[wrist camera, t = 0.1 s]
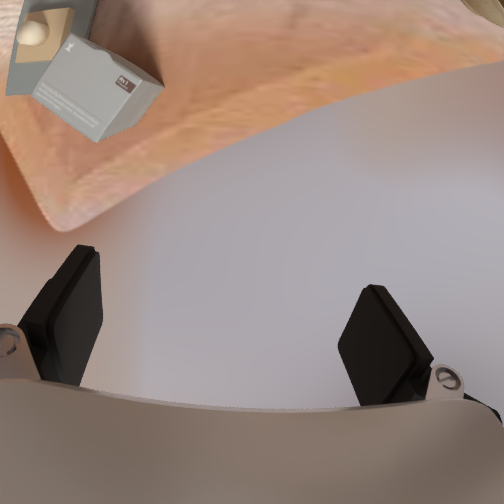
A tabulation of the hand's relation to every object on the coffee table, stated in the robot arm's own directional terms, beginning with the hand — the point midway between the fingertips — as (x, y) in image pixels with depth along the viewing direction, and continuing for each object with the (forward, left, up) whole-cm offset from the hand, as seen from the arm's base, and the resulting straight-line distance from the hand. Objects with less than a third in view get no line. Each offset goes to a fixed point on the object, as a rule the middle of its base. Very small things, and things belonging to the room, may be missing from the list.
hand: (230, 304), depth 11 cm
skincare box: (-6, -13, -31) cm, 34 cm away
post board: (-13, -26, -31) cm, 43 cm away
